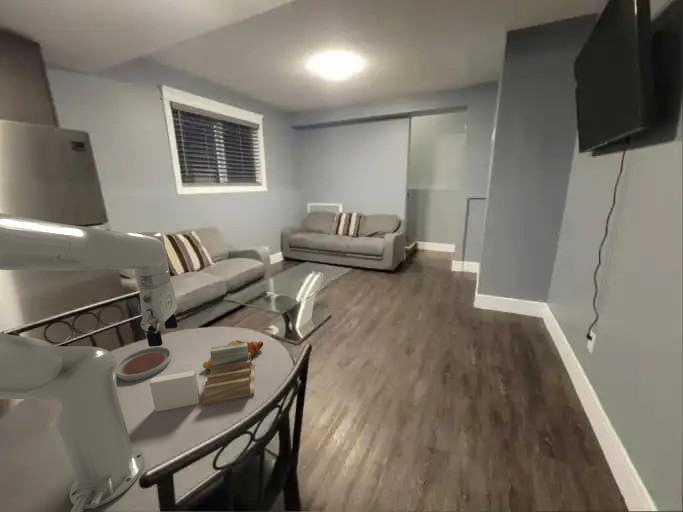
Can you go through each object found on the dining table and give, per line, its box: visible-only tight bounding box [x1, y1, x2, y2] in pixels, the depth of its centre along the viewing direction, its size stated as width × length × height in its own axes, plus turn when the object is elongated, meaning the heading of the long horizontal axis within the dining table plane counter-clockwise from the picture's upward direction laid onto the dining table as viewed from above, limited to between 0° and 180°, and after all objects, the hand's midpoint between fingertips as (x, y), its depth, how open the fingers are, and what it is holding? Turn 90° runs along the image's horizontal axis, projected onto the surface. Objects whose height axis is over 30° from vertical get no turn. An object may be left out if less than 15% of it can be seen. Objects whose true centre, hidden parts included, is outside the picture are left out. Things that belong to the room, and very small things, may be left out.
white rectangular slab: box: [148, 370, 201, 412], centre depth 81 cm, size 2×11×10 cm, turn 106°
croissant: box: [202, 340, 264, 370], centre depth 102 cm, size 21×10×8 cm, turn 128°
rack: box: [202, 341, 256, 406], centre depth 89 cm, size 15×14×10 cm
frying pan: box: [116, 346, 173, 382], centre depth 96 cm, size 17×3×28 cm
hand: (164, 336), depth 80 cm, fingers open, 9 cm apart
